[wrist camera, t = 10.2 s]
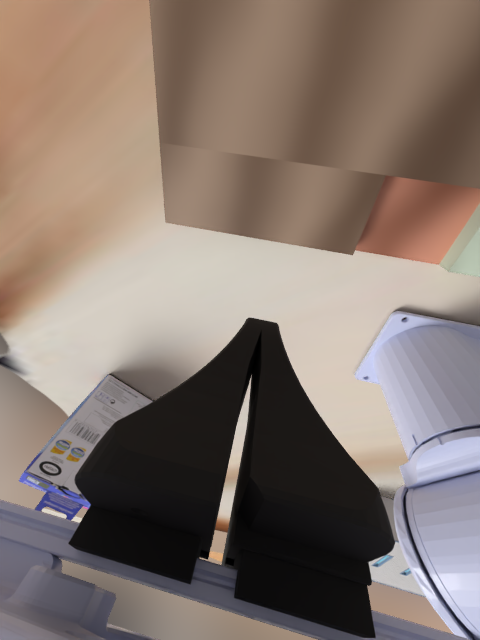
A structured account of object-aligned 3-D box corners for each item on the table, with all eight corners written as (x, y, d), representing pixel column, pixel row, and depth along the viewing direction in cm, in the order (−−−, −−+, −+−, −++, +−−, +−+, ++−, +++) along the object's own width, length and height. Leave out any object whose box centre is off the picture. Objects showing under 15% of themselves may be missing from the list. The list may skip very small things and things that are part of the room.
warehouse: (545, 540, 36) (597, 619, 30) (472, 556, 44) (501, 620, 38) (353, 485, 37) (364, 550, 31) (318, 511, 45) (322, 566, 39)
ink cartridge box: (95, 387, 34) (-9, 508, 22) (107, 371, 31) (-5, 501, 19) (152, 421, 36) (85, 545, 25) (168, 409, 33) (102, 544, 22)
